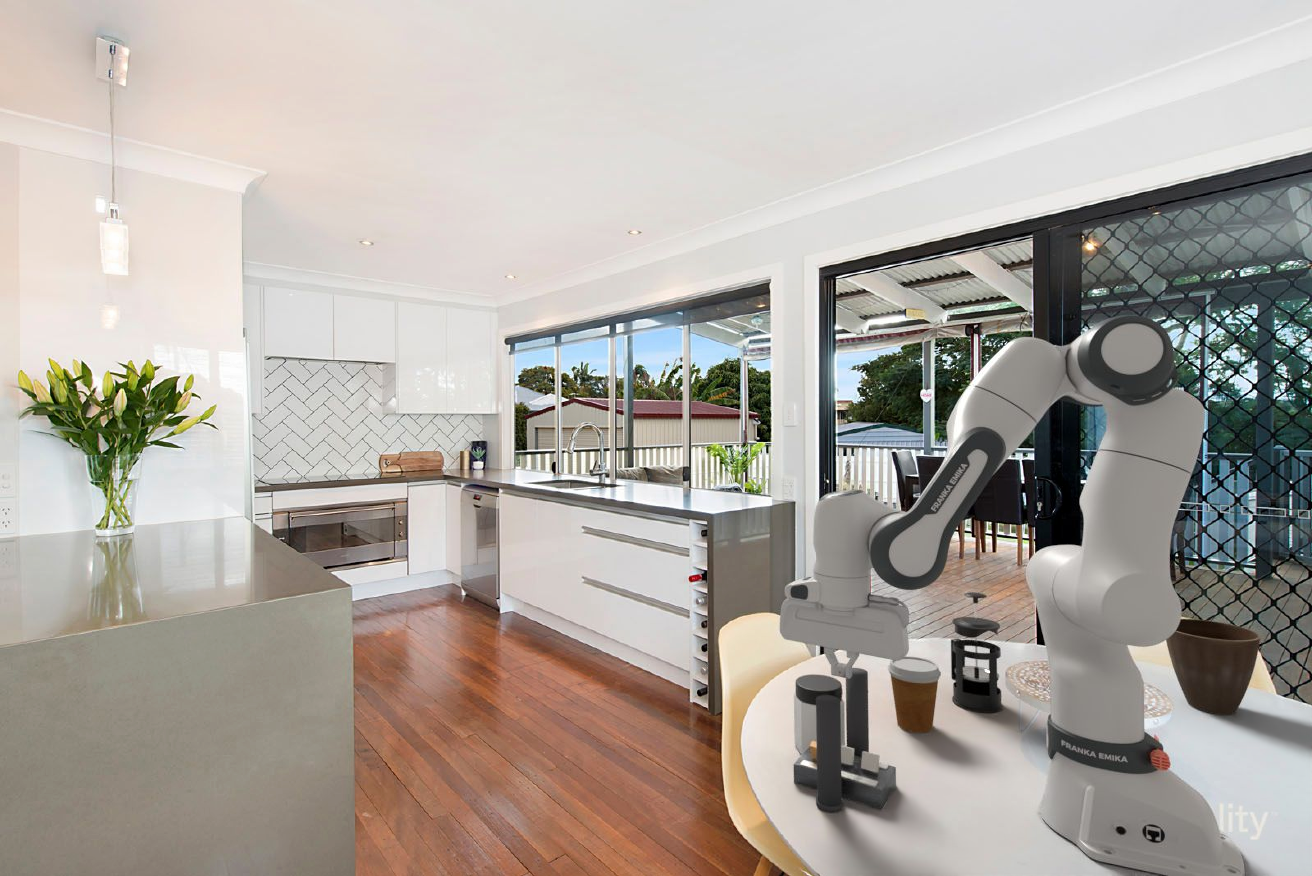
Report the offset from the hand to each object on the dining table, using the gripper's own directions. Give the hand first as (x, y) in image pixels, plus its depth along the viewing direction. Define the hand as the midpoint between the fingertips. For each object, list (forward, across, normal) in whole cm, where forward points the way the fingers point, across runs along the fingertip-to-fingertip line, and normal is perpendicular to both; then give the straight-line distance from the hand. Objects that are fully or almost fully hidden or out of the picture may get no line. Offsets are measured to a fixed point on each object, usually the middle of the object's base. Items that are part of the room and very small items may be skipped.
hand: (841, 676), depth 102 cm
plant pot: (+17, -53, -69) cm, 89 cm away
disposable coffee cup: (+17, -5, -28) cm, 33 cm away
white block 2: (+14, -4, 0) cm, 15 cm away
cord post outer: (+17, 0, +7) cm, 19 cm away
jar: (+18, +7, -9) cm, 21 cm away
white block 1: (+14, 0, 0) cm, 14 cm away
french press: (+17, -13, -46) cm, 51 cm away
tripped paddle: (+14, +4, 0) cm, 15 cm away
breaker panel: (+17, 0, 0) cm, 17 cm away
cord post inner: (+17, 0, -7) cm, 19 cm away
